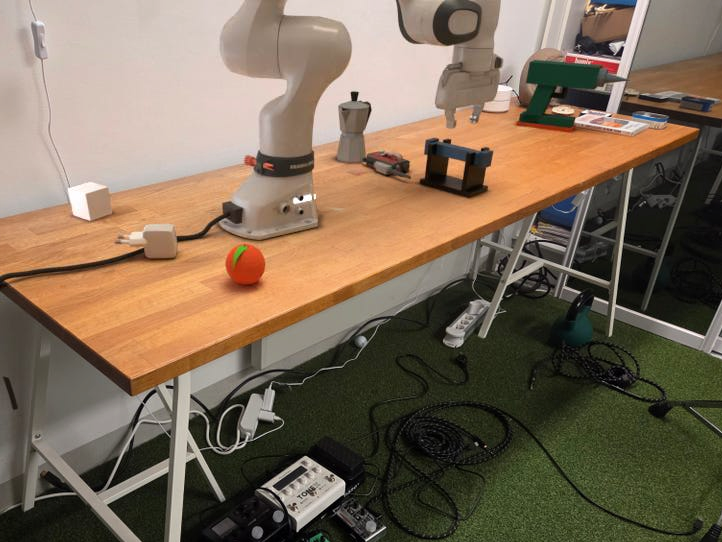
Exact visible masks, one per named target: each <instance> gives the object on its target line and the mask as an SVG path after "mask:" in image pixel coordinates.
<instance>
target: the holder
mask: <svg viewBox="0 0 722 542" xmlns="http://www.w3.org/2000/svg"><path fill="white" fill-rule="evenodd" d="M442 142H444V143H448V144H452V139H451V138H443V140H442ZM436 150H437V143H430V144H429V146H428V154H427V155H426V162H425V172H424V177H422V178H420V179H419V183H418V184H419V185H422V186H427V187H430V188H433V189H437V190H440V191H444V192H447V193H451V194H455V195H458V196H461V197H465V198H469V199H470V198H473V197H475V196H477V195H480V194H482V193H485V192H487V191H488V189H489V185H485V184H484V182H485V178H486V171H487V168H484V169H481V168H477V165H476V164H474V160H475V153H476V152H473V151H471V152H467V154H466V161H465V162H464V167H463V175H462V178H459V177H455V176H451V175H448V168H449V162H450V161H449V160H450V158H448V157H443V156H439V155H436ZM485 150H490V147H488V146H484V147H480V151H485Z"/></svg>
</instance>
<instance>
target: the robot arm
mask: <svg viewBox="0 0 722 542" xmlns="http://www.w3.org/2000/svg"><path fill="white" fill-rule="evenodd" d="M287 2H288V0H244V1H243V3H242V5H241V6H240V8H239V9H238V10H237V11H236V12H235V13H234V14H233V16H231V17H230V18H229V19H228V20H226V22H225V24H224V25H223V27H222V29H221V31H220V35H219V41H218V44H219V46H218V48H219V54H220V57H221V59H222V61H223V64H224V65H225V67H226V69H227V70H228V71H229V72H231V73H234V74H237V75H240V76H244V77H247V78H254V79H272V80H273V79H275V80H284V81H286V90H285V92H284V93H283V94H281V95H279V96H277V97H275V98H273V99H271V100H270V101H268V102H267V103H265V104H264V105H263V107H261V109H260V111H259V114H258V139H259V140H258V141H259V142H258V143H259V144H258V146H259V149H258V151H257V154H256V156H252V155H250V154H246V155H245V156H244V157H243V164H244V165H245V166H249V167H253V168H252V169H253V171H252V172H251V173H250V174H249V176H248V177H246V178H245V180H244V181H243V183H241V184H240V185H239V187H238V188H236V190H235V191H234V192H233V193H232V195H231V197H230V200H229V201H224V202H221V204H222V214H221V215H219V216H217V217H215V218H213V219H212V220H211V221H209V223H208V224H206V226H205V227H204V229H202V230H201V231H198V232H196V233H193V234H188V235H185V234H184V235H176V237H177V242H178V241H190V240H195V239H196V240H197V239H199V238H202V237H204V236H205V235H207V234H208V233H209V231H210V230H211V229H212V228H213V227H214V226H215V225H217V224H218V223H219V224H218V225H219V226H220V227H221V229H223V230H225V231H227V232H229V233H231V234H233V235H235V236H238V237H241V238H245V239H249V240H257V241H261V240H267V239H270V238H274V237H278V236H285V235H288V234H292V233H296V232H301V231H305V230H309V229H314V228H317V227H318V226H319V219H318V218H319V215H320V214H319V211H318V208H317V203H316V194H315V186H314V179H313V177H314V175H313V170H314V169H315V151H314V150H313V136H314V135H313V134H314V133H313V132H314V122H315V113H316V109H317V106H318V105H319V102H320V99H321V97H322V96H323V94H324V93H325V91H326V90H327V89H328V87H329V86H330V85H331V84H332V83H334V81H336V80H337V79H338V78H340V77H341V76H342V75H343V74H344V73H345V71H346V70H347V69H348V66H349V64H350V61H351V58H352V54H353V43H352V37H351V35H350V32H349V31H348V28H347V27H346V25H345V24H344V23H343V22H342V21H339V20H335V19H332V18H329V17H324V16H319V15H290V14H289V15H286V14H285V7H286V4H287ZM395 4H396V9H397V11H396V12H397V24H398V28H399V33H400V35H402V37H403V38H404V39H405V41H407V42H408V43H410V44H413V45H428V46H429V45H430V46H438V47H450V46H451V47H452V46H453V50H452V57H451V63H449V64H447V65H446V67H445V68H444V69H443V70H442V72H441V75H440V76H439V78H438V83H437V86H436V87H437V88H436V93H435V98H434V106H435V108H436V109H438V110H444V116H445V119H446V124H445V127H446V129H448V130H452V129H456V127H457V122H458V121H457V120H456V118H455V114H456V113H457V109H459V108H464V107H465V108H466V107H470V106H473V110H472V113H471V114H470V115H469V120H468V122H469V123H470V124H473V125H474V124H479V122H480V116H481V114H482V112H483V110H484V108H485V105H486V103H491V102H493V101H495V99H496V97H497V94H498V91H499V90H498V89H499V84H500V79H501V71H500V69H502V68H503V67H504V58H503V57H501V56H499V55H498V54H496V53H495V52H494V51H495V33H496V30H497V29H498V26H499V19H500V12H501V6H502V5H501V4H502V0H395ZM142 254H145V250H144V247H140V248H138V249H136V250H134V251H130V252H128V253H124V254H121V255H117V256H114V257H110V258H106V259H102V260H101V259H100V260H97V261H91V262H85V263H79V264H72V265H71V264H70V265H64V266H54V267H52V266H51V267H43V268H36V269H31V270H24V271H14V272H8V273H4V274H2V275H0V284H2V283H3V282H4V281H7V280H10V279H17V278H26V277H31V276H37V275H42V274H53V273H64V272H71V271H78V270H79V271H80V270H84V269H90V268H96V267H102V266H106V265H110V264H115V263H119V262H122V261H125V260H129V259H131V258H134V257H137V256H140V255H142ZM2 379H3V382H4V385H5V388H6V391H7V394H8V397H9V400H10V404H11V408H12V410H13V411H16V410H18V409H19V406H18V402H17V399H16V395H15V392H14V389H13V386H12V382H11V380H10V379H11V378H10V377H7V376H2Z"/></svg>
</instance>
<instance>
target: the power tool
mask: <svg viewBox="0 0 722 542" xmlns="http://www.w3.org/2000/svg"><path fill="white" fill-rule="evenodd" d="M603 67H604V66H603V64H592V63H579V62H566V61H556V60H555V61H554V60H541V59H534V60H530V62H529V64H528V69H527V73H526V74H527V75H526V79H525V84H529V85H536V87H535V89H534V92H533V94H532V96H531V98H530V99H529V100H530V101H529V103H528V105H527V106H526V109H525V110H524V111H522V112H521V113H519V117H518V120H517V121H516V123H515V126H519V127H527V128H528V127H529V128H537V129H544V130H551V131H558V132H566V133H572V132H573V131H574V130H575V129H576V126H577V125H576V124H575V122H576V119H577V117H576V116H572V115H571V116H570V115H563V114H555V113H554V114H553V113H547V110H548V108H549V105H550V103H551V101H552V99H557V100H558V99H559V100H560V99H561V100H564V99H566V98H567V96H568V93H569V89H570V88H571V89H579V90H592V91H594V90H595V89H597V88H604V87H605V85H606V84H614V83H620V82H621V83H623V82H630V81H632V80H631V79H628V78H626V77H625V78H624V77H622V76H619V75H617V74H612V73H609V68H603ZM558 87H559V88H562V89H561V92H556V90H557V88H558Z"/></svg>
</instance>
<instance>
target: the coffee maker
mask: <svg viewBox="0 0 722 542" xmlns="http://www.w3.org/2000/svg"><path fill="white" fill-rule="evenodd" d="M359 94H360V92H359V91H355V90H353V91H350V100H349V101H346V102H342V103H340V104H338V106H337V111H338V121H339V130H340V131H341V133H340V136H339V142H338V147H337V152H336V160H337V161H338V162H341V163H345V164H361V163H364V162H363V161H362V159H363V158H367V153H366V143H365V142H366V141H365V135H364V131H365V130H366V128H367V125H368V122H369V120H370V116H371V113H372V111H373V109H372V105H371V102H369V101H362V100H358V98H359Z"/></svg>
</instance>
